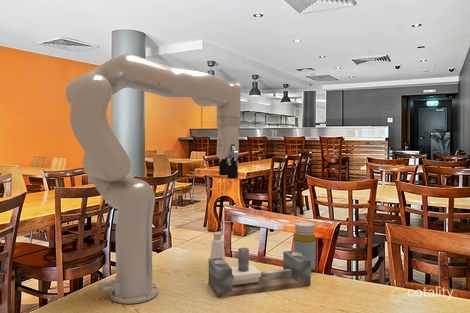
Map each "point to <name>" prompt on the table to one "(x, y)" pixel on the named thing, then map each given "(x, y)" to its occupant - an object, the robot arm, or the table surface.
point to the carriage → (244, 269)
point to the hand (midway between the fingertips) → (228, 176)
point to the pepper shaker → (217, 247)
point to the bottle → (305, 241)
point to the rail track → (290, 277)
